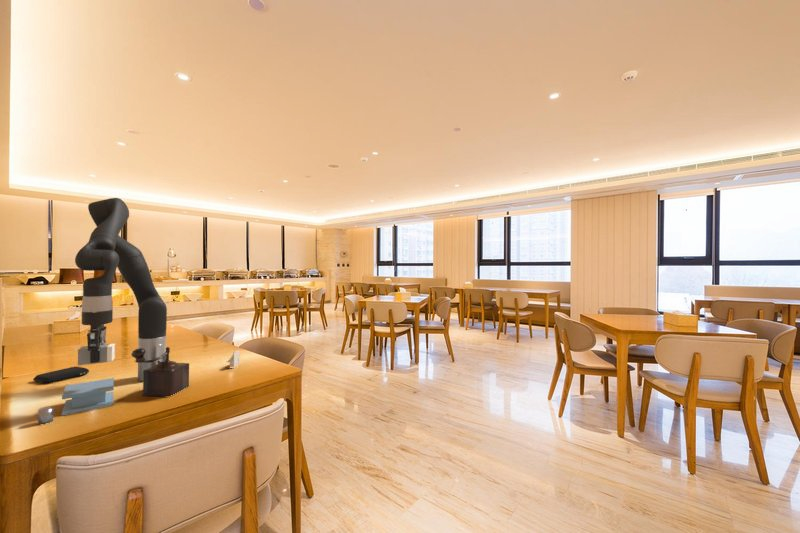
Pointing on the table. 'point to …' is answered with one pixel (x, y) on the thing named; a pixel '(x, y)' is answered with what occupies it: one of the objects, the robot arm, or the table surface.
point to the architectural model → (234, 359)
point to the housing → (105, 354)
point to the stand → (88, 396)
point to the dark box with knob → (162, 375)
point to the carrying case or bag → (60, 375)
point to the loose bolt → (45, 415)
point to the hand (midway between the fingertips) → (96, 360)
